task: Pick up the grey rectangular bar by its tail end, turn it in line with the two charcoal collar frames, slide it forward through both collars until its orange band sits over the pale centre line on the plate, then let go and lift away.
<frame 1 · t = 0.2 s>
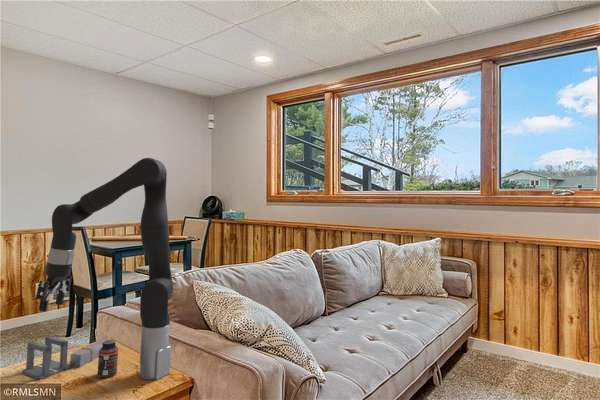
hand: (51, 307, 131), 22 cm above the table, tool pointing down, fingers open, 8 cm apart
grey rectangular bar: (91, 357, 143), on the table
collar stand: (46, 370, 131), on the table
supplement bottle: (107, 375, 130), on the table
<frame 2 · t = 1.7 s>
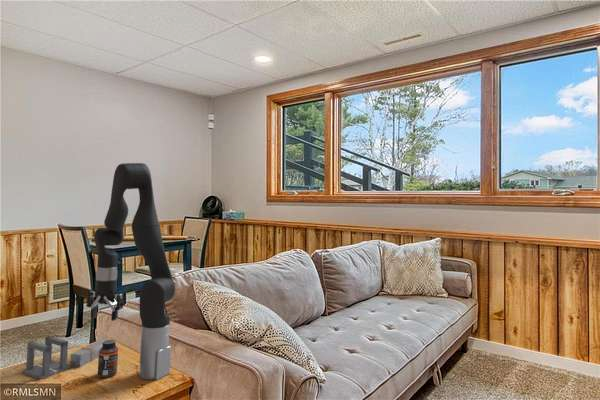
hand: (104, 319, 150), 13 cm above the table, tool pointing down, fingers open, 8 cm apart
nothing on the table moved.
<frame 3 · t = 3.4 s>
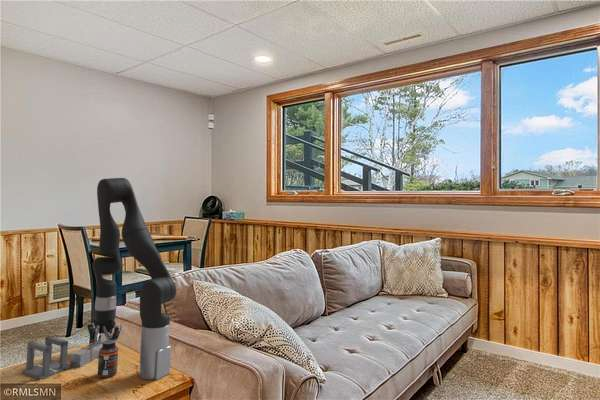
hand: (103, 350, 150), 0 cm above the table, tool pointing down, fingers closed on grey rectangular bar, 4 cm apart
grey rectangular bar: (91, 357, 143), on the table, touching gripper
everything else where it was.
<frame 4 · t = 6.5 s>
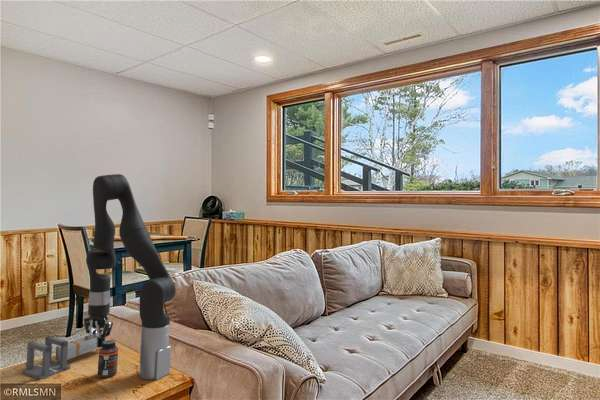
hand: (97, 345, 149), 3 cm above the table, tool pointing down, fingers closed on grey rectangular bar, 4 cm apart
grey rectangular bar: (81, 352, 143), point 2 cm above the table, touching gripper
everything else where it was.
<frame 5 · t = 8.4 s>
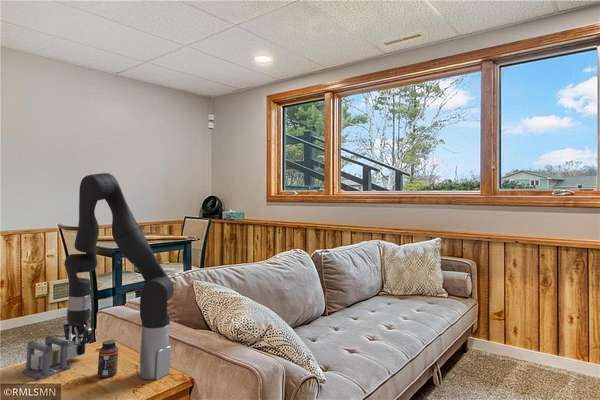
hand: (76, 353, 141), 2 cm above the table, tool pointing down, fingers closed on grey rectangular bar, 4 cm apart
grey rectangular bar: (59, 360, 135), point 2 cm above the table, touching gripper
everything else where it was.
when the fingers open (2 cm above the table, at t = 9.9 s): grey rectangular bar stays where it is, resting on collar stand.
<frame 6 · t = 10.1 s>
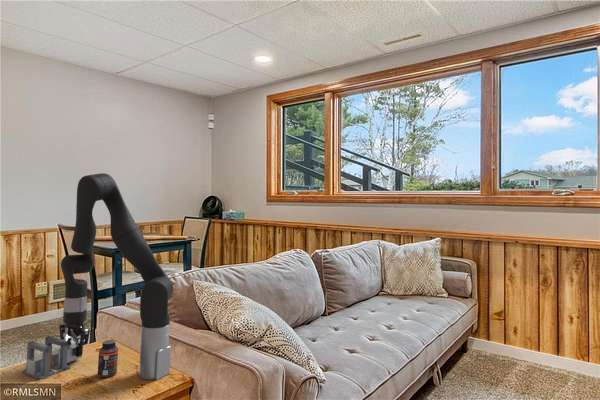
hand: (73, 354, 140), 2 cm above the table, tool pointing down, fingers open, 5 cm apart
grey rectangular bar: (55, 364, 134), point 1 cm above the table, touching collar stand
everything else where it was.
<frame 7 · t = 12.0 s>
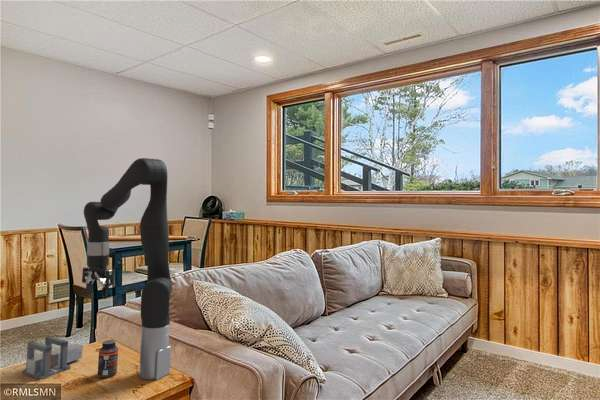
hand: (97, 295, 146), 23 cm above the table, tool pointing down, fingers open, 8 cm apart
nothing on the table moved.
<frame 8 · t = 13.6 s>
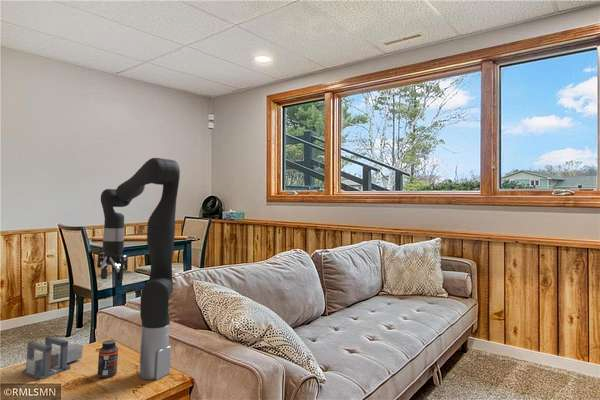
hand: (111, 280, 150), 28 cm above the table, tool pointing down, fingers open, 8 cm apart
nothing on the table moved.
at the end: grey rectangular bar 0.1 cm from the target spot on the collar stand, point 1.0 cm above the collar stand's base; the gripper is holding nothing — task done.
